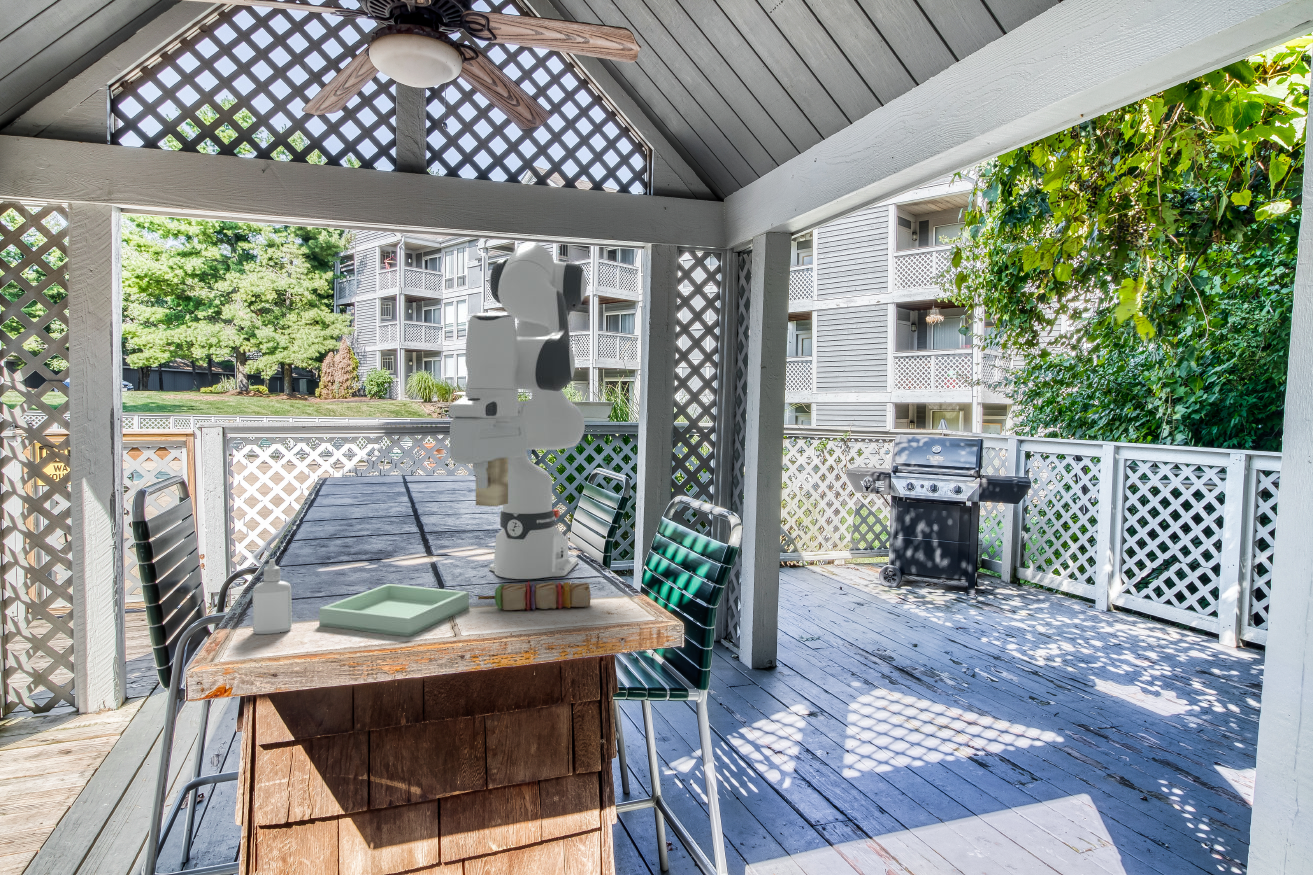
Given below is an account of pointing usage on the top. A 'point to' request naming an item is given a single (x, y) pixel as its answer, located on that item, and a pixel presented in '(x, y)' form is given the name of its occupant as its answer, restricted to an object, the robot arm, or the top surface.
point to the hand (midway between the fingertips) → (491, 486)
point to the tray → (394, 609)
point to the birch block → (494, 485)
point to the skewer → (541, 595)
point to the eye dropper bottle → (272, 603)
